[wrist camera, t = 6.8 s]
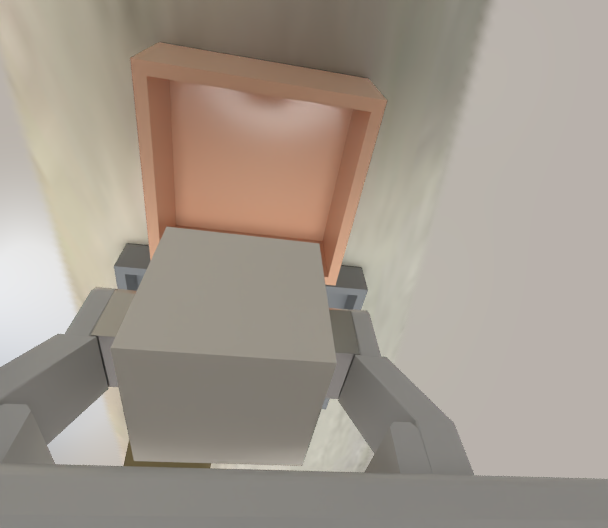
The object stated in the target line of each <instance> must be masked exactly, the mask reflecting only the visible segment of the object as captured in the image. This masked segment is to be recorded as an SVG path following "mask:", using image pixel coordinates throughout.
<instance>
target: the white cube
mask: <svg viewBox="0 0 608 528" xmlns="http://www.w3.org/2000/svg"><path fill="white" fill-rule="evenodd" d="M111 353H112V357H113V362H114V367H115V372H116V377H117V382H118V386H119V391H120V396H121V401H122V406H123V411H124V415H125V420H126V425H127V430H128V435H129V440H130V444H131V449H132V454H133V459H134V461H150V462H185V463H220V464H255V465H290V466H303V463H304V460H305V457H306V454H307V451H308V448H309V445H310V442H311V439H312V436H313V433H314V430H315V427H316V424H317V421H318V418H319V415H320V412H321V409H322V406H323V403H324V400H325V397H326V394H327V391H328V388H329V385H330V382H331V379H332V376H333V373H334V370H335V367H336V364H337V361H336V354H335V347H334V340H333V333H332V327H331V320H330V313H329V306H328V299H327V292H326V286H325V279H324V272H323V265H322V258H321V251H320V245H319V243H310V242H301V241H292V240H283V239H274V238H265V237H256V236H247V235H238V234H229V233H220V232H211V231H202V230H193V229H184V228H175V227H166V229H165V231H164V233H163V235H162V237H161V240H160V242H159V244H158V246H157V248H156V250H155V253H154V255H153V257H152V259H151V261H150V263H149V266H148V268H147V270H146V272H145V274H144V276H143V279H142V281H141V283H140V285H139V287H138V289H137V292H136V294H135V296H134V298H133V300H132V302H131V304H130V307H129V309H128V311H127V313H126V315H125V317H124V320H123V322H122V324H121V326H120V328H119V330H118V333H117V335H116V337H115V339H114V341H113V343H112V346H111Z"/></svg>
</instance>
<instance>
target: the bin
mask: <svg viewBox="0 0 608 528" xmlns="http://www.w3.org/2000/svg"><path fill="white" fill-rule="evenodd" d="M130 60H131V70H132V80H133V90H134V100H135V110H136V120H137V130H138V140H139V150H140V160H141V170H142V180H143V190H144V200H145V210H146V220H147V230H148V240H149V250H150V260H151V259H152V257H153V255H154V253H155V250H156V248H157V246H158V244H159V242H160V240H161V237H162V235H163V233H164V231H165V229H166V227H175V228H184V229H193V230H202V231H211V232H220V233H229V234H238V235H247V236H256V237H265V238H274V239H283V240H292V241H301V242H310V243H319V245H320V251H321V258H322V265H323V272H324V279H325V285H336V282H337V278H338V274H339V271H340V267H341V264H342V260H343V257H344V253H345V249H346V246H347V242H348V239H349V235H350V232H351V228H352V225H353V221H354V217H355V214H356V210H357V207H358V203H359V200H360V196H361V192H362V189H363V185H364V182H365V178H366V175H367V171H368V168H369V164H370V160H371V157H372V153H373V150H374V146H375V143H376V139H377V135H378V132H379V128H380V125H381V121H382V118H383V114H384V111H385V107H386V103H387V100H386V99H385V97H384V96H383V95H382V94H381V93H380V91H379V90H378V89H377V88H376V87H375V85H374V84H373V83H372V82H371V81H370V79H368V78H362V77H357V76H351V75H345V74H339V73H334V72H328V71H322V70H316V69H311V68H305V67H299V66H293V65H288V64H282V63H276V62H270V61H265V60H259V59H253V58H247V57H242V56H236V55H230V54H224V53H218V52H213V51H207V50H201V49H195V48H190V47H184V46H178V45H172V44H167V43H161V42H158V43H156V44H154V45H153V46H151V47H149V48H147V49H145V50H144V51H142V52H140V53H138V54H136V55H135V56H133V57H131V58H130Z"/></svg>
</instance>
